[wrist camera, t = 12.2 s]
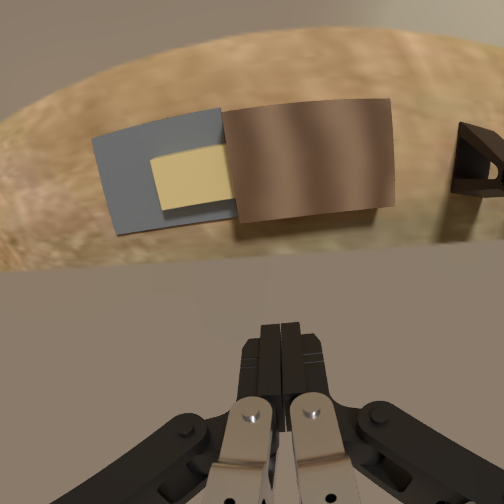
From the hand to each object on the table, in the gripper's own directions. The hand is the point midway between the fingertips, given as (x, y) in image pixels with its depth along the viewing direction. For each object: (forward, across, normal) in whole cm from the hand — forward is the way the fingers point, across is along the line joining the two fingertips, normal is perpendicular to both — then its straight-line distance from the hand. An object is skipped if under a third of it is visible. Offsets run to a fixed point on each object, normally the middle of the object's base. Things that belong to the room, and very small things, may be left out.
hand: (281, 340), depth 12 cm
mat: (+24, +12, -3) cm, 27 cm away
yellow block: (+23, +8, -2) cm, 25 cm away
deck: (+24, -4, -3) cm, 25 cm away
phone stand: (+25, -26, -2) cm, 36 cm away
